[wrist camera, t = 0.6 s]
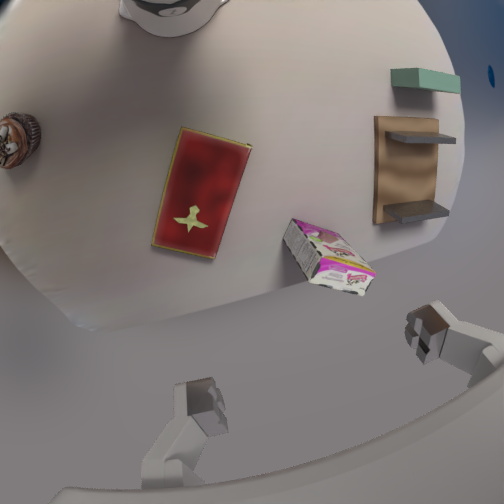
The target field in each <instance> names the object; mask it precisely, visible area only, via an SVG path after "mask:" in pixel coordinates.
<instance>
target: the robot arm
mask: <svg viewBox="0 0 504 504" xmlns="http://www.w3.org/2000/svg"><path fill="white" fill-rule="evenodd" d="M227 1H228V0H121V1H120V7H119V13H120V15H121V16H122V17H124V18H126V19H130V20H133V21H135V22H136V23H137V24H138V25H139V26H140V27H141V28H143V29H144V30H145V31H147V32H149V33H151V34H154V35H157V36H162V37H176V36H182V35H185V34H188V33H191V32H193V31H195V30H197V29H199V28H200V27H202V26H203V25H204V24H206V23H207V22H208V21H209V20H210V18H211V17H212V16H213V14H214V13H215V11H216V10H217V8H218V7H219V6H221V5H222V4H224V3H225V2H227ZM406 320H407V321H408V322H409V323H408V324H407V326H406V327H405V337H406V340H407V342H408V344H409V345H410V347H411V348H414V349H416V355H417V356H418V358H419V359H420V361H421V362H422V363H423V364H424V365H425V364H427V363H429V362H431V361H433V360H435V359H437V358H439V357H440V359H441V360H443V361H446V362H447V363H449V364H451V365H453V366H455V367H457V368H459V369H461V370H463V371H465V372H467V373H469V374H471V375H472V376H471V378H470V380H469V382H468V385H467V387H468V388H469V389H468V390H466V391H464V392H463V393H461V394H459V395H458V396H456V397H455V398H453V399H451V400H450V401H448V402H446V403H444V404H443V405H441V406H439V407H438V408H436V409H434V410H432V411H430V412H428V413H426V414H425V415H423V416H421V417H419V418H417V419H415V420H413V421H411V422H409V423H407V424H405V425H403V426H401V427H399V428H396V429H394V430H392V431H390V432H388V433H385V434H383V435H381V436H379V437H376V438H374V439H372V440H369V441H367V442H364V443H362V444H360V445H357V446H354V447H351V448H349V449H346V450H343V451H341V452H338V453H335V454H332V455H329V456H326V457H323V458H320V459H317V460H314V461H310V462H307V463H304V464H300V465H297V466H293V467H290V468H286V469H282V470H278V471H274V472H270V473H265V474H261V475H256V476H252V477H247V478H242V479H237V480H231V481H225V482H219V483H212V484H205V481H204V480H203V479H201V478H200V477H199V476H198V475H197V474H195V473H194V472H193V470H194V468H195V466H196V464H197V462H198V460H199V457H200V455H201V453H202V451H203V449H204V447H205V445H206V442H207V440H208V437H211V436H216V435H220V434H224V433H228V426H227V419H226V417H225V415H224V414H223V413H224V411H225V405H224V401H223V397H222V395H221V392H220V390H219V389H218V388H216V384H215V381H214V379H213V378H212V377H210V378H205V379H200V380H195V381H189V382H184V383H179V384H175V386H174V418H173V419H170V420H169V422H168V423H167V425H166V426H165V428H164V429H163V431H162V432H161V434H160V435H159V437H158V438H157V440H156V441H155V443H154V444H153V446H152V447H151V449H150V450H149V452H148V453H147V455H146V456H145V458H144V459H143V461H142V483H141V484H142V485H141V489H131V490H130V489H129V490H128V489H124V490H122V489H93V488H80V487H64V488H62V490H60V491H59V492H58V493H57V494H56V495H55V496H54V497H53V498H52V499H51V501H50V502H49V503H48V504H504V334H501V333H498V332H495V331H492V330H489V329H486V328H483V327H479V326H476V325H473V324H470V323H467V322H464V321H460V322H459V321H458V320H457V319H456V318H455V317H454V316H453V314H451V312H450V311H449V310H448V309H447V308H446V307H445V306H444V305H443V304H442V303H441V302H440V301H438V300H436V301H434V302H432V303H430V304H427V305H425V306H422V307H420V308H418V309H416V310H414V311H411V312H410V313H408V315H407V319H406Z"/></svg>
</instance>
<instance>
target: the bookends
mask: <svg viewBox="0 0 504 504" xmlns="http://www.w3.org/2000/svg"><path fill="white" fill-rule="evenodd" d="M385 137H387V138H390V139H394V140H397V141H401V142H404V143H440V144H456V138H454V137H450V136H447V135H443V134H439V133H435V132H418V131H385ZM383 211H384V212H386V213H387V214H389V215H390V216H392V217H393V218H394V219H396V220H397V221H399V222H400V223H401V224H402V223H408V222H415V221H421V220H427V219H433V218H439V217H446V216H449V210H448V209H446V208H444V207H442V206H441V205H439V204H437V203H435V202H434V201H432V200H430V199H429V200H420V201H412V202H404V203H396V204H388V205H383Z"/></svg>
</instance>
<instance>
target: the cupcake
mask: <svg viewBox="0 0 504 504" xmlns="http://www.w3.org/2000/svg"><path fill="white" fill-rule="evenodd" d="M40 139H41V129H40V125H39V123H38V122H37V120H36V119H35V118H34V117H33V116H31V115H27V114H22V113H16V112H15V113H13V112H12V113H9V114H6V116H3V119H1V121H0V167H1V168H5V169H11V168H13V167H15V166H18V165H21V164H22V163H23V162H24V161H25V160H26V159H27V158H28V157H29V156H30V155H31V154H32V153H33V152H34V151H35V150H36V149H37V147H38V145H39V142H40Z"/></svg>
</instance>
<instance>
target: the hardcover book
mask: <svg viewBox="0 0 504 504" xmlns="http://www.w3.org/2000/svg"><path fill="white" fill-rule="evenodd" d="M251 149H252V145H250V144H247V145H246V144H242V143H239V142H236V141H232V140H229V139H225V138H222V137H218V136H215V135H211V134H208V133H204V132H200V131H196V130H193V129H189V128H185V127H181V130H180V133H179V136H178V140H177V143H176V147H175V150H174V154H173V157H172V161H171V165H170V168H169V172H168V176H167V180H166V183H165V187H164V191H163V195H162V199H161V204H160V208H159V212H158V216H157V221H156V225H155V230H154V234H153V239H152V244H151V246H156V247H160V248H165V249H169V250H173V251H178V252H182V253H187V254H191V255H196V256H200V257H205V258H210V259H215V257H216V254H217V251H218V248H219V245H220V242H221V239H222V236H223V232H224V229H225V226H226V223H227V220H228V217H229V214H230V211H231V208H232V205H233V202H234V199H235V196H236V193H237V190H238V187H239V184H240V181H241V178H242V175H243V172H244V169H245V166H246V163H247V160H248V158H249V155H250V152H251Z"/></svg>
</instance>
